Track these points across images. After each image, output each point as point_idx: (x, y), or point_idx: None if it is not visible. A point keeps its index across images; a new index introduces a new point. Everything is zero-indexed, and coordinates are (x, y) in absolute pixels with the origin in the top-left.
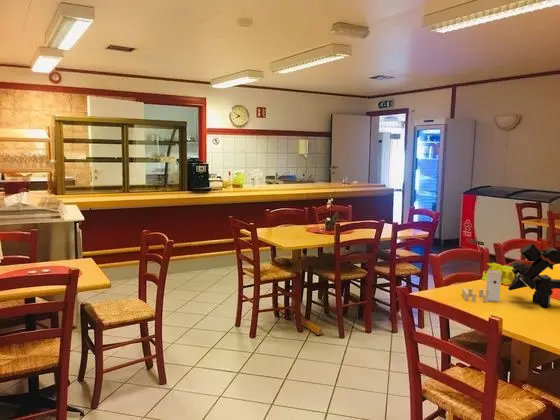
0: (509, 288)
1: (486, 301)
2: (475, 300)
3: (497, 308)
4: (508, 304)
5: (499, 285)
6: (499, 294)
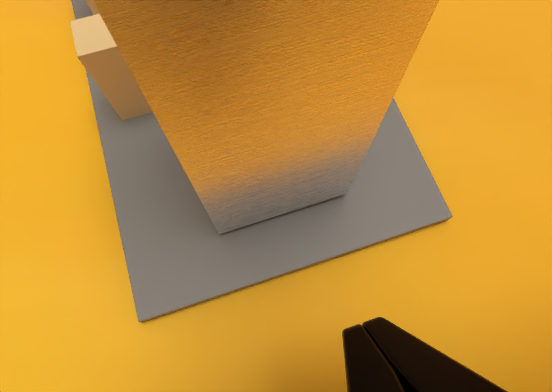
0: (347, 352)
1: (113, 104)
2: (90, 8)
3: (14, 240)
4: (254, 353)
5: (152, 104)
6: (201, 199)
